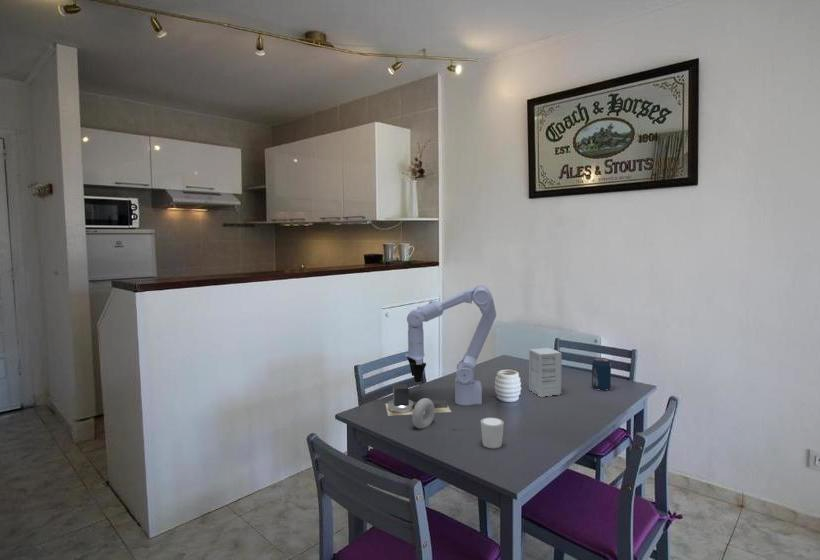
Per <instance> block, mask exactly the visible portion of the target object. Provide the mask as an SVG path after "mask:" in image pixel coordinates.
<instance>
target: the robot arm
mask: <svg viewBox="0 0 820 560" xmlns="http://www.w3.org/2000/svg"><path fill="white" fill-rule="evenodd" d="M463 303H466V304H473V303H474V304H475V305H476V306H477V307H478V308H479V312H480V314H481V317H480V318H479V319H480V320H479V322H478V324H477V326H476V329H475V331H474V333H473V336H472V338H471V341H470V343H469V345H468V348H467V349H466V352H465V354H464V356H463V357H462V359H461V360H460V361H458V363H457V365H456V372H455V379H454V402H455V404H456V405H460V406H472V405H473V406H474V405H483V404H482V403H483V400H482V399H483V397H482V395H483V393H482V392H483V390H482V389H483V387H482V383H481V381H480V380H479V379H478V380H476V379H475V378H474V375H475V374H474V370H475V368H476V365H477V362H478V361H477V360H478V359H479V356H480V355H481V354H480V353H481V352H482V351H483V347H484V345H485V343H486V341H487V339H488V338H487V337H488V336H489V333H490V331H491V329H492V326H493V324H494V322H495V320H496V317H497V311H496V308H495V306H496V305H495V301H494V297H493V295H492V293H491V291H490V290H489V287H487V286H485V285H477V286H476V287H471V288H468V289H465V290H462V291H461V292H458V293H457V294H455V295H452V296H450V297H448V298H447V299H444V300H443V301H437V300H429V301H428V303H427V304H425V305H423V306H422V305H421V306H417V307H416V308H417V309H412V310H410V311H409V313H408V314H407V316H406V322H407V325H408V326H407V328H408V329H407V345H408V347H407V352H408V353H406V354H404V357H405V358H406V359H407V361H408V364H409V368H410V372H411V376H412V377H413V379H414V382H415V383H421V382H422V379H423V375H424V374H423V373H424V370H425V369H426V368H425V367H426V366H427V363H426V362H423V359H424V358H425V350H424V349H425V348H424V347H425V345H424V344H425V343H424V341H425V340H424V339H425V337H424V334H425V333H424V323H425V322H426V323H427V322H429V321H431V320H433V319H436V318H438V317H441V316H442V315H443V313H444V311H445V310H447V309H450V308H453V307H455V306H458V305H460V304H463Z"/></svg>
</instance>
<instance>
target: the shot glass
mask: <svg viewBox="0 0 820 560" xmlns="http://www.w3.org/2000/svg"><path fill="white" fill-rule="evenodd" d="M504 424H505V423H504V420H503V419H501V418H497V417H491V416H490V417H484V418H482V419H480V428H481V429H480V430H481V439H482V440H481V441H482V445H483V446H484V447H485V448H489V449H498V448H500V447H502V444H503V434H504Z"/></svg>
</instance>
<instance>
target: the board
mask: <svg viewBox="0 0 820 560" xmlns="http://www.w3.org/2000/svg"><path fill="white" fill-rule="evenodd" d="M384 404H385V409H386V412H387V416H388V417H390V416H392V417H393V416H408V415H411V416H412V415H413V410H414V408H413V410H412V411H410V412H407V413H393V412H390V411H389V410H388V402H386V403H384ZM447 406H448V407H447V408H435V414H440V413H452V410H451V409H450V406H449V405H448V404H447ZM424 412H425V411H424ZM423 415H424V413H423Z"/></svg>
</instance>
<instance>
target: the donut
mask: <svg viewBox="0 0 820 560" xmlns="http://www.w3.org/2000/svg"><path fill="white" fill-rule="evenodd" d="M432 401H433V400H431V399H430V398H427V397H424V398H421V399H418V401H416V402H417V404H416V405H415V407H414V410H413V414H411V417H412V418H411V419H412V423H413V425H414V427H415V428H416V429H419V430H422V429H426V428H428V427H429V426H430V425H431V424H432V423H433V420H434V417H435V414H436V413H435V408H434V404H433V402H432ZM424 411H425V412H424ZM423 413H424V414H423Z"/></svg>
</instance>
